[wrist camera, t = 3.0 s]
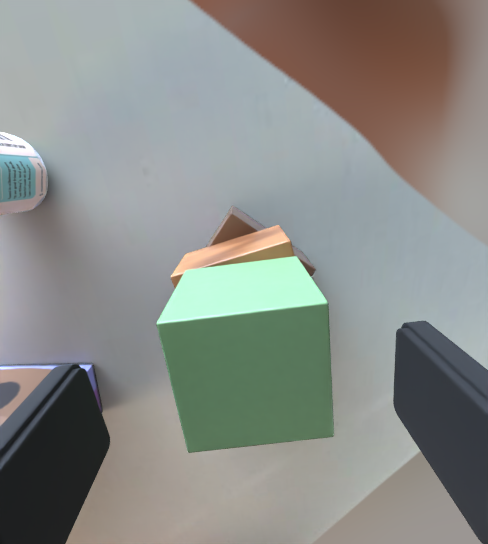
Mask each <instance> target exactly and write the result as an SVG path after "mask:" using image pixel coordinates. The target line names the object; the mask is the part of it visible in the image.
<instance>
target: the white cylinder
mask: <svg viewBox="0 0 488 544" xmlns="http://www.w3.org/2000/svg"><path fill="white" fill-rule="evenodd" d="M47 189H48V175H47V171H46V168H45V165H44V163H43V161H42V159H41V157H40V156H39V154H38V153H37V152H36V151H35V149H33V148H32V147H31V146H30V145H29V144H28V143H27V142H25V141H24V140H22V139H20V138H18V137H16V136H14V135H11V134H7V133H1V132H0V215H3V214H9V213H15V212H26V211H29V210H32V209H33V208H35V207H37V206H38V205H39V204H40V203H41V202H42V201H43V199H44V197H45V195H46V192H47Z"/></svg>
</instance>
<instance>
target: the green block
mask: <svg viewBox="0 0 488 544" xmlns="http://www.w3.org/2000/svg"><path fill="white" fill-rule="evenodd" d="M157 329H158V333H159V337H160V341H161V345H162V349H163V353H164V357H165V361H166V365H167V369H168V373H169V377H170V381H171V386H172V390H173V394H174V398H175V402H176V406H177V410H178V414H179V418H180V422H181V426H182V430H183V434H184V438H185V443H186V447H187V451H188V452H189V453H192V452H201V451H210V450H219V449H228V448H237V447H246V446H255V445H264V444H273V443H282V442H291V441H300V440H309V439H318V438H327V437H333V436H334V422H333V399H332V376H331V353H330V330H329V306H328V302H327V300H326V299H325V297H324V296H323V294H322V293H321V291H320V290H319V288H318V287H317V285H316V284H315V282H314V281H313V280H312V278H311V277H310V275H309V274H308V272H307V271H306V269H305V268H304V266H303V265H302V263H301V262H300V260H299V259H298V257H297V256H293V257H285V258H278V259H270V260H262V261H254V262H246V263H238V264H230V265H222V266H215V267H207V268H199V269H191V270H186V271H185V272H184V274H183V276H182V278H181V279H180V281H179V283H178V285H177V287H176V288H175V290H174V292H173V294H172V296H171V298H170V299H169V301H168V303H167V305H166V307H165V309H164V310H163V312H162V314H161V316H160V318H159V319H158V321H157Z"/></svg>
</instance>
